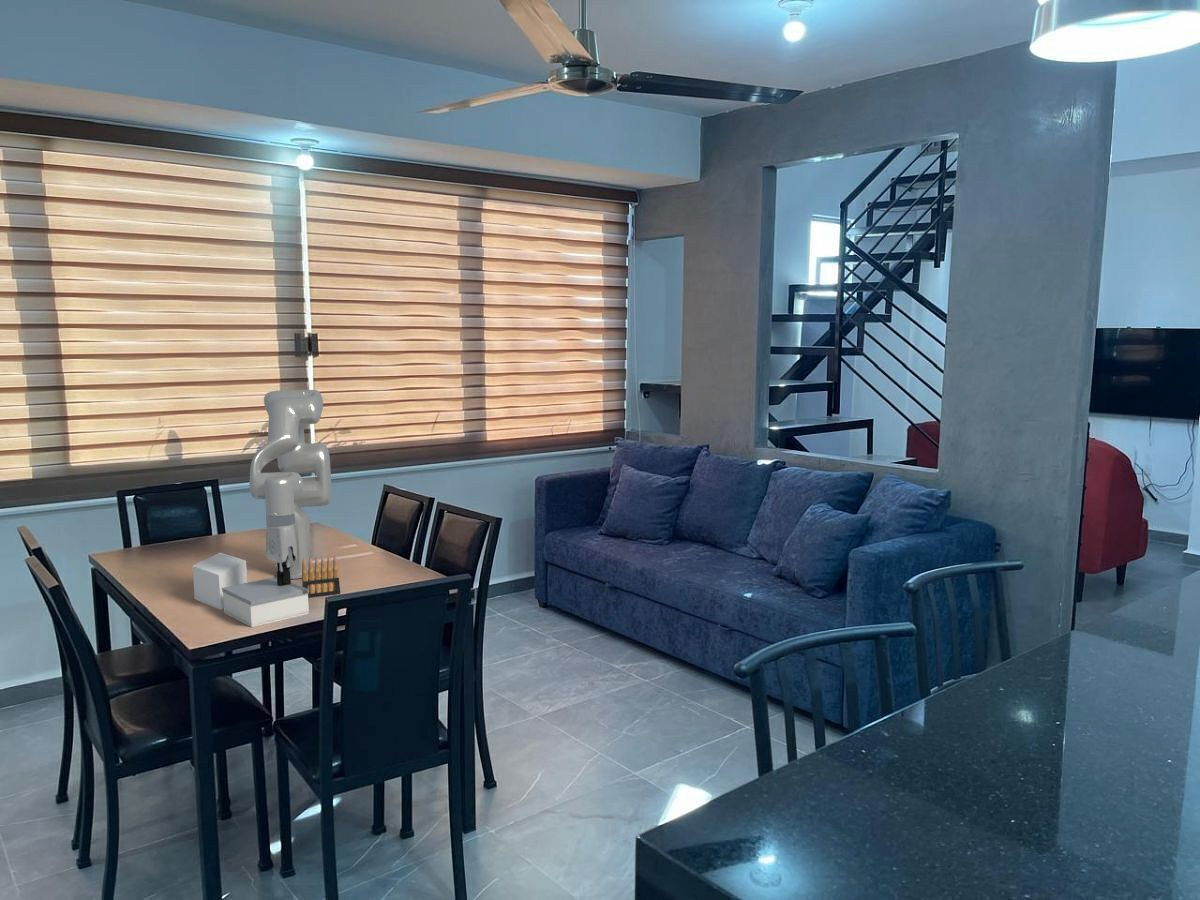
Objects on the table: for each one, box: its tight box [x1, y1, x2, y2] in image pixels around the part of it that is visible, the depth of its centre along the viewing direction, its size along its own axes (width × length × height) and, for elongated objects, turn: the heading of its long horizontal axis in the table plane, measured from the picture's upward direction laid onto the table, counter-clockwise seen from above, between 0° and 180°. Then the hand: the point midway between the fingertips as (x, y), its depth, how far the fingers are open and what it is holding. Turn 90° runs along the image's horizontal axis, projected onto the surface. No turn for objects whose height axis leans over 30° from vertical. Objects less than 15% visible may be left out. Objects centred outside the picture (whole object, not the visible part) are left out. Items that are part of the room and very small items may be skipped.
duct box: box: [223, 592, 310, 628], centre depth 240 cm, size 18×17×6 cm
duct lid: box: [222, 576, 309, 605], centre depth 239 cm, size 19×16×1 cm
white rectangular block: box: [191, 552, 248, 611], centre depth 256 cm, size 14×29×10 cm, turn 23°
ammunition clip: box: [301, 554, 341, 599], centre depth 256 cm, size 11×2×12 cm, turn 114°
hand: (284, 584), depth 242 cm, fingers closed
